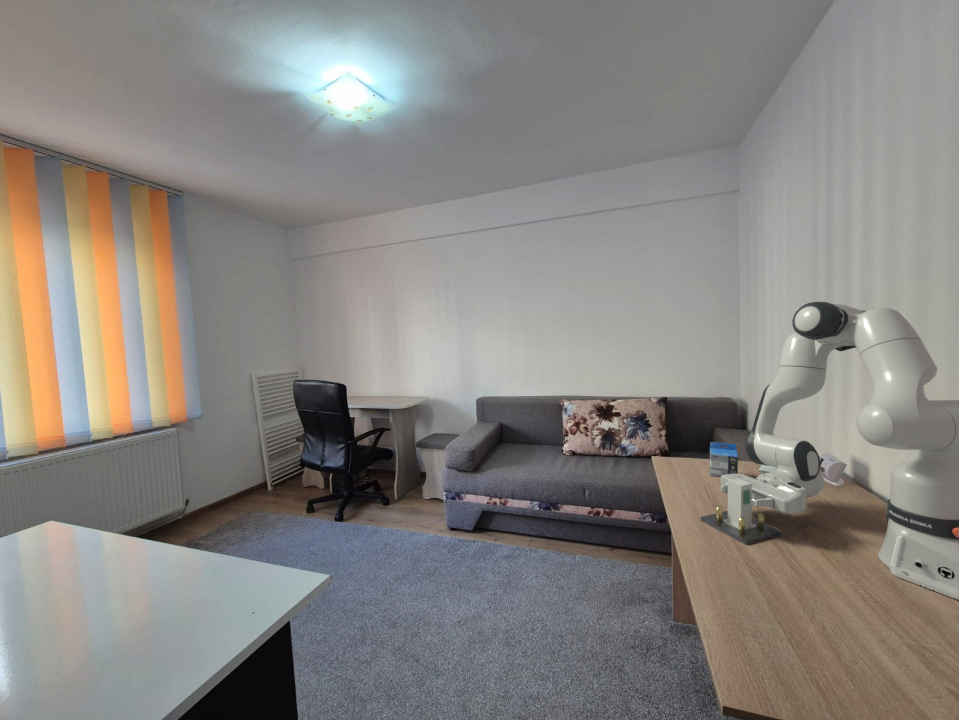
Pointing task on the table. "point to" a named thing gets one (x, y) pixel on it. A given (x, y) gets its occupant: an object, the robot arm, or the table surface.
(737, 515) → the block
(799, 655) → the table surface
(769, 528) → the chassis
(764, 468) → the hard drive
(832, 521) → the table surface
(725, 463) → the label tape box
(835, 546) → the table surface
